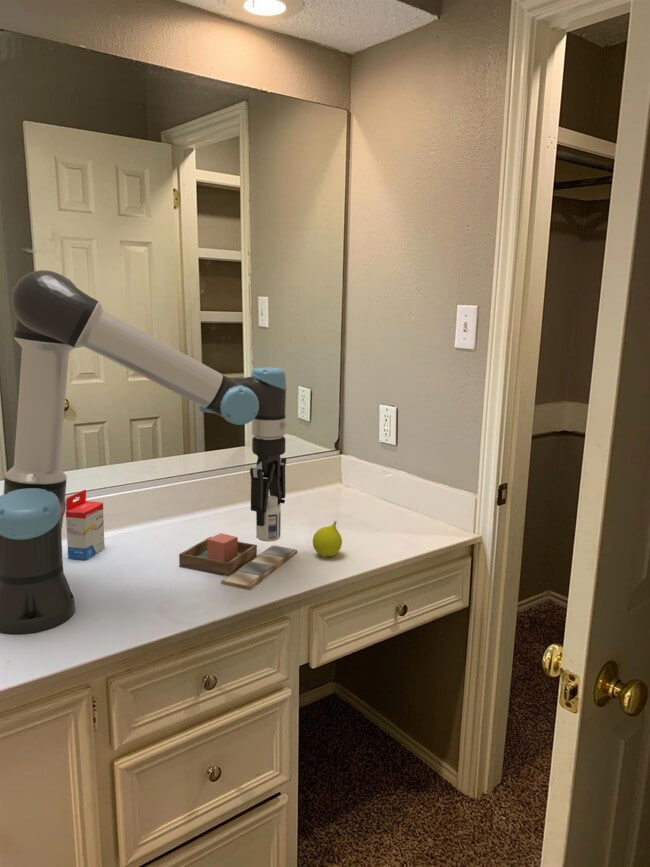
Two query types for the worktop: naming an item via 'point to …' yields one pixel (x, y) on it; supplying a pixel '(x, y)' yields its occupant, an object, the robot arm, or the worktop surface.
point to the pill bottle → (273, 519)
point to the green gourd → (327, 541)
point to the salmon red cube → (222, 547)
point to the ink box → (84, 527)
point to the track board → (259, 567)
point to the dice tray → (199, 560)
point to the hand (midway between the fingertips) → (268, 534)
